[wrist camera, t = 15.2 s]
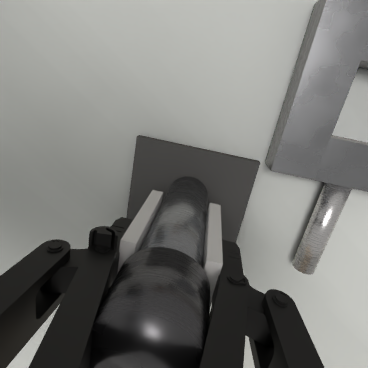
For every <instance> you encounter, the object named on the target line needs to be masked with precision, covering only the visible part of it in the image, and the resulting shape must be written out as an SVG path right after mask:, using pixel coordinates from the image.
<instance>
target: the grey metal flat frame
mask: <svg viewBox="0 0 368 368" xmlns="http://www.w3.org/2000/svg"><path fill="white" fill-rule="evenodd" d="M358 67H360V68H365V69H368V0H319V1H318V2H316V3H315V5H314V8H313V11H312V14H311V18H310V21H309V24H308V27H307V30H306V33H305V37H304V40H303V43H302V46H301V49H300V53H299V56H298V59H297V62H296V65H295V68H294V72H293V75H292V78H291V81H290V84H289V88H288V91H287V94H286V97H285V100H284V103H283V107H282V110H281V113H280V116H279V119H278V123H277V126H276V129H275V132H274V135H273V138H272V142H271V145H270V148H269V151H268V154H267V157H266V161H265V163H266V164H267V166H268V167H269V169H270V170H271V171H274V172H279V173H284V174H288V175H293V176H298V177H302V178H307V179H311V180H316V181H321V182H325V184H324V187H323V189H322V191H321V194H320V196H319V199H318V201H317V204H316V206H315V208H314V211H313V213H312V216H311V218H310V221H309V223H308V225H307V228H306V230H305V233H304V235H303V238H302V240H301V242H300V245H299V247H298V250H297V252H296V255H295V257H294V259H293V262H292V265H293V266H294V268H296V269H297V270H298V271H300V272H302V273H304V274H313V273H314V271H315V269H316V267H317V264H318V262H319V260H320V258H321V256H322V253H323V251H324V249H325V247H326V245H327V243H328V240H329V238H330V236H331V234H332V232H333V229H334V227H335V225H336V223H337V221H338V218H339V216H340V214H341V212H342V210H343V207H344V205H345V203H346V201H347V199H348V196H349V194H350V192H351V190H352V188H353V189H358V190H362V191H367V192H368V143H366V142H362V141H357V140H352V139H347V138H342V137H338V136H333V135H332V133H333V130H334V128H335V125H336V123H337V120H338V118H339V115H340V112H341V110H342V107H343V105H344V102H345V100H346V97H347V95H348V92H349V90H350V87H351V85H352V82H353V79H354V77H355V74H356V72H357V69H358Z"/></svg>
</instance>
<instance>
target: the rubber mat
mask: <svg viewBox="0 0 368 368" xmlns="http://www.w3.org/2000/svg"><path fill="white" fill-rule="evenodd" d="M259 165H260V162H259V161H257V160H252V159H247V158H243V157H238V156H233V155H229V154H224V153H219V152H215V151H210V150H206V149H201V148H196V147H192V146H187V145H182V144H178V143H173V142H168V141H164V140H159V139H154V138H150V137H145V136H140V135H139V136H137V141H136V148H135V156H134V164H133V172H132V180H131V188H130V196H129V204H128V211H127V219H132V220H134V218H135V217H136V215H137V214H138V212H139V210H140V209H141V207H142V206H143V204H144V203H145V201H146V200H147V198H148V196H149V195H150V193H151V192H152V190H156V191H160V192H163V196H162V202H163V200H164V198H165V196H166V194H167V192H168V190H169V187H170V186H171V184H172V183H173V182H174V181H175V180H176V179H178V178H181V177H185V176H189V177H194V178H197V179H198V180H200V181H201V182H202V183H203V184H204V185H205V187H206V189H207V192H208V204H207V212H208V208H209V204H210V203H214V204H218V205H220V206H221V230H222V240H226V241H230V242H235V243H236V240H237V236H238V233H239V230H240V226H241V223H242V220H243V217H244V213H245V210H246V207H247V204H248V200H249V197H250V194H251V191H252V187H253V184H254V181H255V178H256V174H257V171H258V168H259ZM162 202H161V204H162Z"/></svg>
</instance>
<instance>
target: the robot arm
mask: <svg viewBox="0 0 368 368" xmlns="http://www.w3.org/2000/svg"><path fill="white" fill-rule="evenodd" d="M162 196H163V192H160V191H156V190H152V192H151V193H150V195H149V196H148V198H147V200H146V201H145V203H144V204H143V206H142V207H141V209H140V210H139V212H138V214H137V215H136V217H135V218H134V220H132V219H127V218H123V217H121V218H120V219H118V220H116V221H115V222H114V223H113V224H112V226H111V227H105V226H101V227H96V228H94V229H92V230H91V231H90V234H89V247H88V249H70V244H69V243H68V242H66V241H64V240H50V241H47V242H45V243H43V244H41V245H40V246H39V247H37V248H36V249H35V250H34V251H32V252H31V253H30V254H28V255H27V256H26V257H24V258H23V259H22V260H21V261H19V262H18V263H17V264H15V265H14V266H13V267H11V268H10V269H9V270H7V271H6V272H5V273H4V274H2V275H1V276H0V368H6V367H7V366H8V365H9V364H10V362H11V361H12V360H13V359H14V358H15V356H16V355H17V354H18V353H19V352H20V350H21V349H22V348H23V347H24V346H25V345H26V343H27V342H28V341H29V340H30V339H31V337H32V336H33V335H34V334H35V333H36V331H37V330H38V329H39V328H40V327H41V326H42V324H43V323H44V322H45V321H46V320H47V318H48V317H49V316H50V315H51V314H52V312H53V311H54V310H55V309H56V308H57V307H58V305H59V304H60V305H59V307H58V309H57V311H56V313H55V315H54V317H53V320H52V322H51V324H50V326H49V328H48V330H47V332H46V334H45V336H44V338H43V340H42V342H41V344H40V346H39V348H38V350H37V352H36V354H35V356H34V358H33V360H32V362H31V364H30V366H29V368H89V367H90V355H91V344H92V333H93V324H94V321H95V319H96V316H97V314H98V311H99V309H100V306H101V304H102V302H103V300H104V298H105V296H106V294H107V292H108V290H109V288H110V287H111V285H112V283H113V281H114V279H115V277H116V276H117V274H118V272H119V270H120V268H121V266H122V265H123V263H124V262H125V261H126V259H127V258H128V257H130V256H131V255H132V254H134V253H135V252H138V251H139V250H140V247H141V245H142V243H143V241H144V239H145V237H146V235H147V233H148V231H149V229H150V227H151V225H152V223H153V221H154V219H155V216H156V214H157V212H158V210H159V208H160V206H161V202H162ZM203 270H204V271H205V273H206V275H207V277H208V280H209V283H210V306H211V302H212V308H211V311H210V315H209V327H208V332H207V337H206V341H205V346H204V351H203V354H202V358H201V361H200V364H199V367H198V368H243V361H244V347H245V335H246V336H248V337H249V341H250V346H251V351H252V356H253V360H254V365H255V368H324V366H323V364H322V362H321V359H320V357H319V355H318V353H317V351H316V348H315V346H314V344H313V342H312V340H311V338H310V335H309V333H308V331H307V329H306V327H305V324H304V322H303V320H302V318H301V316H300V313H299V311H298V309H297V307H296V305H295V303H294V301H293V300H292V298H290V297H289V296H288V295H287V294H285V293H284V292H282V291H279V290H274V289H271V290H268V291H267V292H266V294H263V293H261V292H259V291H257V290H255V289H254V288H252V287H251V286H250V285H249V282H248V279H247V278H246V277H245V276H244V275H243V268H242V262H241V255H240V249H239V247H238V246H237V244H236V243H235V242H230V241H226V240H222V230H221V206H220V205H218V204H214V203H210V204H209V208H208V212H207V216H206V229H205V243H204V256H203Z"/></svg>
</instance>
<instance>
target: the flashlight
mask: <svg viewBox="0 0 368 368" xmlns="http://www.w3.org/2000/svg"><path fill="white" fill-rule="evenodd" d="M207 204H208V192H207V189H206V187H205V185H204V184H203V183H202V182H201V181H200V180H198V179H197V178H194V177H189V176H185V177H181V178H178V179H176V180H175V181H174V182H173V183H172V184H171V186H170V187H169V190H168V192H167V194H166V196H165V198H164V200H163V202H162V204H161V206H160V208H159V210H158V212H157V214H156V216H155V219H154V221H153V223H152V225H151V227H150V229H149V231H148V233H147V235H146V237H145V239H144V241H143V243H142V245H141V247H140V250H139V251H138V252H135V253H134V254H132V255H131V256H130V257H128V258H127V259H126V261H125V262H124V263H123V265H122V266H121V268H120V270H119V272H118V274H117V276H116V277H115V279H114V281H113V283H112V285H111V287H110V288H109V290H108V292H107V294H106V296H105V298H104V300H103V302H102V304H101V306H100V309H99V311H98V314H97V316H96V319H95V321H94V324H93V333H92V344H91V355H90V367H89V368H198V367H199V364H200V361H201V358H202V354H203V351H204V346H205V341H206V337H207V332H208V327H209V313H210V283H209V280H208V277H207V275H206V273H205V271H204V270H203V256H204V243H205V229H206V216H207Z"/></svg>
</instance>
